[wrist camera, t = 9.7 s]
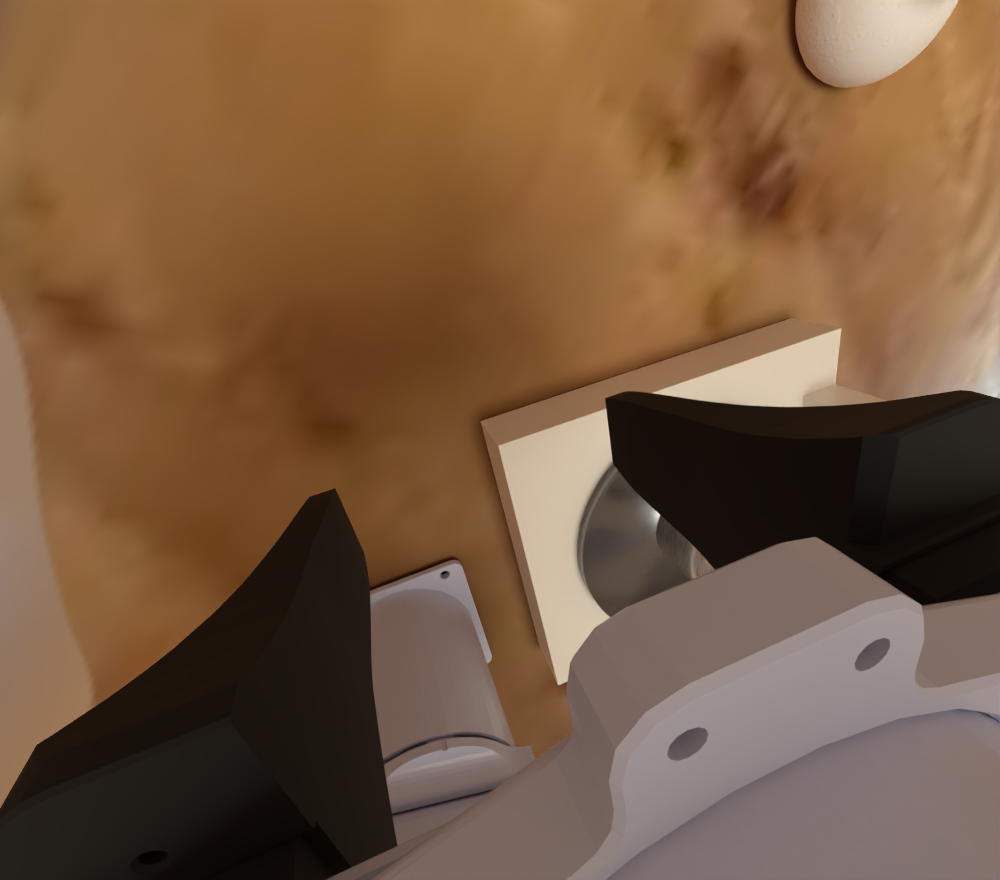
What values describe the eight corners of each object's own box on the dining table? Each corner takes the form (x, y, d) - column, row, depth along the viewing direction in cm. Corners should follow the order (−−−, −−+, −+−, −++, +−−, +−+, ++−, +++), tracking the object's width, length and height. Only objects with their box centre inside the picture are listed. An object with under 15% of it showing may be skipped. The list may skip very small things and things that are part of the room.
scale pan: (594, 652, 27) (601, 663, 27) (558, 457, 22) (565, 465, 21) (785, 569, 30) (796, 577, 29) (799, 372, 24) (813, 376, 23)
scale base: (539, 645, 30) (585, 741, 25) (480, 421, 23) (525, 483, 18) (783, 542, 34) (873, 606, 28) (797, 315, 26) (924, 339, 21)
